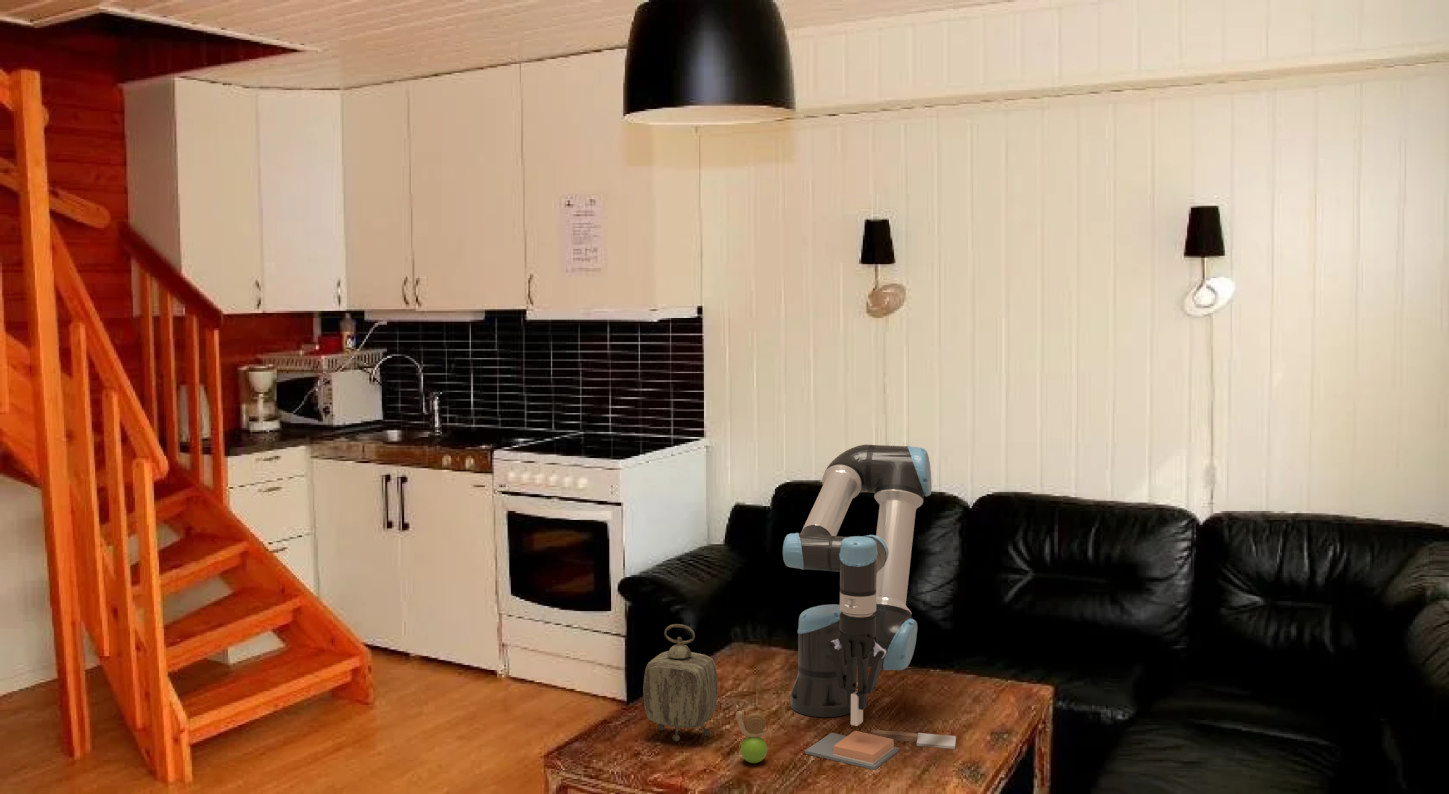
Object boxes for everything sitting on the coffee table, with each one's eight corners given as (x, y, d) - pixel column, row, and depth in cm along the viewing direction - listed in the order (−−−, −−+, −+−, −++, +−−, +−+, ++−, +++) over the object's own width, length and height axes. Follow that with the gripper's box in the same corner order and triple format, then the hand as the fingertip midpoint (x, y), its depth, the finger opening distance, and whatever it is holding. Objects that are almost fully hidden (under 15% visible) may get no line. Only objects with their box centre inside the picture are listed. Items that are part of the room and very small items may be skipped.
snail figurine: (734, 757, 249) (734, 701, 248) (765, 756, 250) (765, 700, 249) (737, 768, 244) (737, 710, 243) (768, 767, 244) (768, 709, 243)
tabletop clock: (717, 734, 262) (717, 622, 260) (703, 750, 253) (703, 633, 251) (656, 726, 267) (655, 616, 264) (640, 741, 258) (639, 627, 256)
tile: (833, 745, 249) (872, 755, 244) (855, 730, 257) (893, 739, 252) (833, 755, 249) (872, 764, 244) (854, 739, 257) (893, 748, 252)
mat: (804, 753, 251) (804, 750, 251) (831, 735, 261) (831, 732, 261) (874, 770, 243) (874, 767, 243) (899, 750, 253) (899, 747, 253)
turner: (869, 741, 258) (869, 736, 258) (872, 731, 264) (872, 726, 264) (955, 749, 254) (955, 743, 254) (955, 738, 260) (956, 733, 260)
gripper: (821, 612, 249) (820, 722, 251) (878, 621, 242) (877, 735, 244) (837, 604, 255) (837, 712, 258) (894, 613, 248) (893, 724, 251)
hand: (856, 723), depth 251 cm, fingers closed
